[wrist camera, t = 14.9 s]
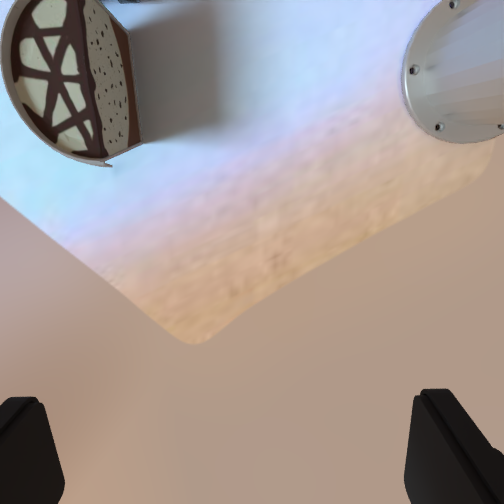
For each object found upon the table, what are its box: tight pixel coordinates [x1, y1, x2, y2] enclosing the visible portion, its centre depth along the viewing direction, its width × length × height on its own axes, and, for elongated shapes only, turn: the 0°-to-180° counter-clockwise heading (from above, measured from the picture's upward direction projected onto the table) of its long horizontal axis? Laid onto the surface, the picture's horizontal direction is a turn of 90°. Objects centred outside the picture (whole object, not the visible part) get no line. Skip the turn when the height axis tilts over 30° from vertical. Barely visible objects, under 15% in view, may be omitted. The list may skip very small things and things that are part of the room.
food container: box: [0, 0, 143, 167], centre depth 28 cm, size 12×6×10 cm, turn 2°
